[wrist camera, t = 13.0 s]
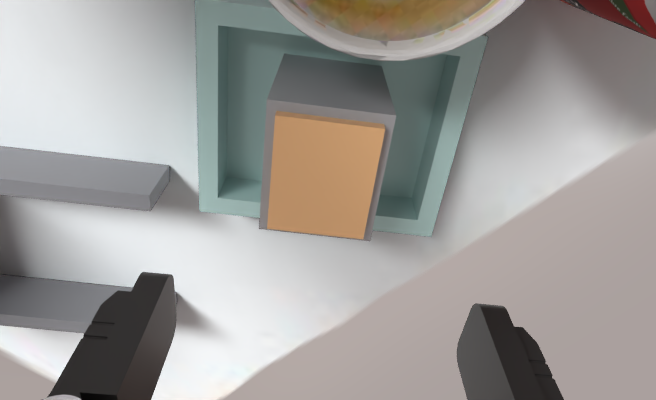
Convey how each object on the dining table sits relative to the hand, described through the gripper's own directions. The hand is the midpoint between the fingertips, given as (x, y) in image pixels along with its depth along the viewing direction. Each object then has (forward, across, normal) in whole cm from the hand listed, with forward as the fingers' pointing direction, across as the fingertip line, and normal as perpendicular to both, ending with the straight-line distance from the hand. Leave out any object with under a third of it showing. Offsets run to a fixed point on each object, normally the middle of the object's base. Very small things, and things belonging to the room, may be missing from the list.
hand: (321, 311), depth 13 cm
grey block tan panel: (+15, 0, 0) cm, 15 cm away
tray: (+16, 0, 0) cm, 16 cm away
